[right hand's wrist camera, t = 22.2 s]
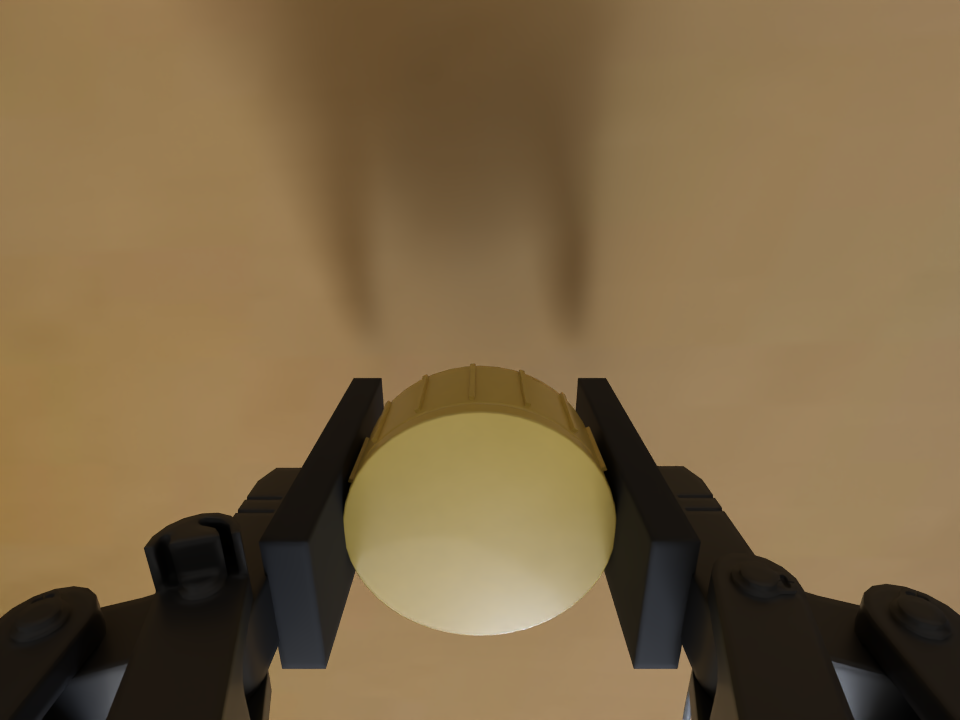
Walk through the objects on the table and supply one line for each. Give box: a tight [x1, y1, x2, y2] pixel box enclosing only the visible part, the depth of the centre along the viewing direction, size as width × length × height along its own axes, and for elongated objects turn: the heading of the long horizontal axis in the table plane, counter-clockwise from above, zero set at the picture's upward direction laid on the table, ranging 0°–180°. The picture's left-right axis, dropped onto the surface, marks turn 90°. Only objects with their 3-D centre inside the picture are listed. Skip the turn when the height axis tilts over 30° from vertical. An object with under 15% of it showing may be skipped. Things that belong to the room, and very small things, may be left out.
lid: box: [343, 364, 616, 636], centre depth 11 cm, size 6×5×2 cm
